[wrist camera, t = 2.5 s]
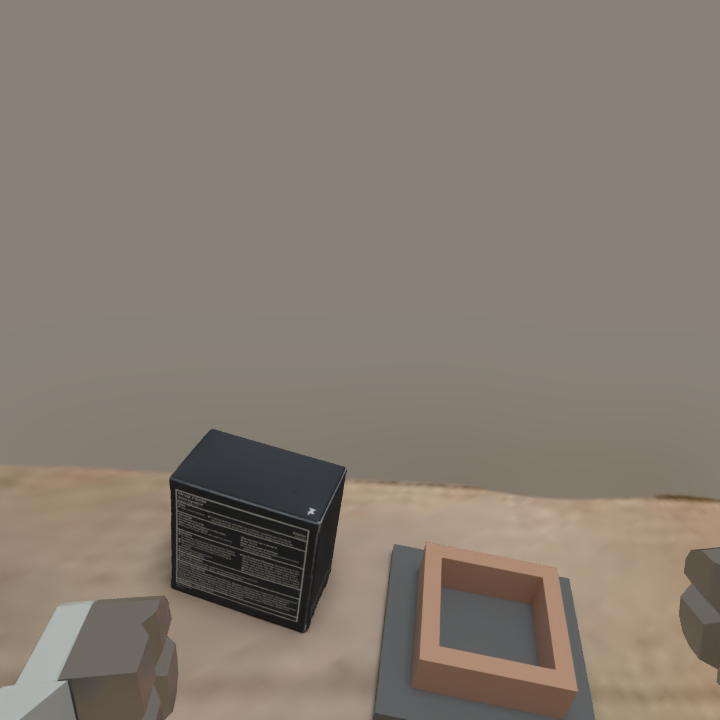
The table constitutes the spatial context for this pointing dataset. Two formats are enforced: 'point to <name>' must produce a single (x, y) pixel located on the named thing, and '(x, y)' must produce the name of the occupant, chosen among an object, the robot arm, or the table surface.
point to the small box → (254, 527)
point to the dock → (479, 640)
